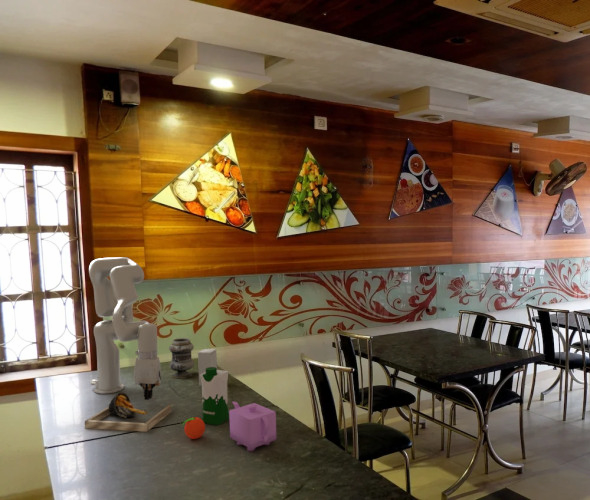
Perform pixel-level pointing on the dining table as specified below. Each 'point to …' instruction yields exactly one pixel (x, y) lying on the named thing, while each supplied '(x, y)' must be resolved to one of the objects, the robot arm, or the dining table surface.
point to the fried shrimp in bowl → (123, 406)
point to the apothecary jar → (181, 357)
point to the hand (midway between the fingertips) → (148, 398)
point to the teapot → (252, 425)
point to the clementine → (194, 427)
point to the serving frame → (128, 426)
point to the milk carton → (214, 396)
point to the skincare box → (206, 361)
